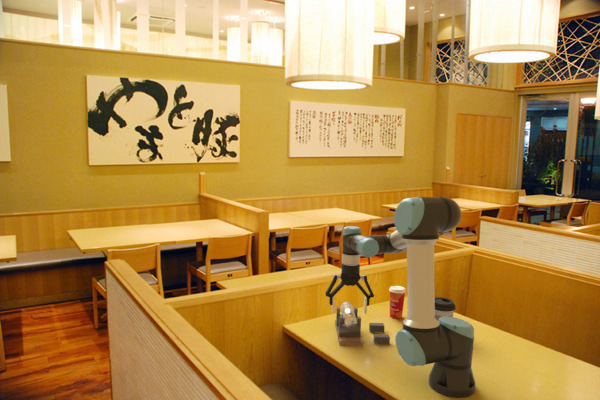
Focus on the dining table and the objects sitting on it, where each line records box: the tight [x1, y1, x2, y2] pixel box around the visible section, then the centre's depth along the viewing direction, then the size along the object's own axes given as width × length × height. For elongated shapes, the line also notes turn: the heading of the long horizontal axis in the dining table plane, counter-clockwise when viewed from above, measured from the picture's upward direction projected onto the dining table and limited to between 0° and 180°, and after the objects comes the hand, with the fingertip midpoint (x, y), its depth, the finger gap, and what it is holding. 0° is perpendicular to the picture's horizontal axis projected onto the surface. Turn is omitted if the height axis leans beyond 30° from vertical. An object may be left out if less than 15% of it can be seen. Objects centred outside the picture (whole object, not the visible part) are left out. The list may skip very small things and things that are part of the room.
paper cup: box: [388, 285, 407, 320], centre depth 224 cm, size 8×8×14 cm
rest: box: [368, 322, 391, 345], centre depth 201 cm, size 15×6×3 cm, turn 1°
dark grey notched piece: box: [334, 306, 363, 346], centre depth 203 cm, size 22×9×10 cm, turn 1°
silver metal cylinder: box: [340, 301, 357, 329], centre depth 202 cm, size 18×5×5 cm, turn 1°
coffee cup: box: [434, 296, 457, 321], centre depth 205 cm, size 11×11×15 cm
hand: (348, 312), depth 202 cm, fingers open, 13 cm apart
